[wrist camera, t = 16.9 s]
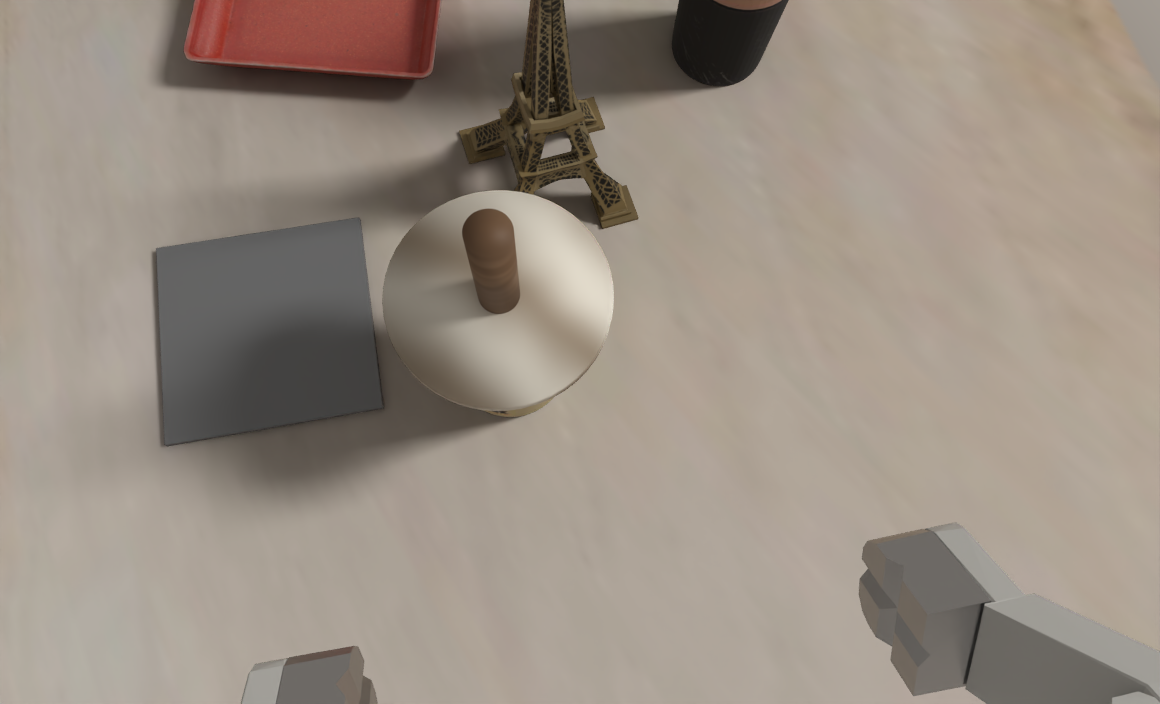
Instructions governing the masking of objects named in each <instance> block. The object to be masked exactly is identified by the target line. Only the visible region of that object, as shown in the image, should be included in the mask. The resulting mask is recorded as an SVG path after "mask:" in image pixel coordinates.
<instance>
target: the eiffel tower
mask: <svg viewBox="0 0 1160 704" xmlns="http://www.w3.org/2000/svg"><path fill="white" fill-rule="evenodd" d="M511 81H512V85H513V88H514V92H515V97H514V100H513V102H512V105H511V106H510V107H509V108H505V109H499V112H500V116H501V118H500V119H498V120H495V121H492V122H489V123H487V124H484V125H481V126H477V127H473V128H469V129H465V130H461V131H459V132H460V136H461V139H462V142H463V145H464V149H465V152H466V155H467V158H468V161H469V164H471V163H475V162H479V161H483V160H487V159H491V158H495V157H498V156H502V155H505V150H504V147H503V146H504V145H507V148H508V150H509V153H510V156H511V159H512V162H513V166H514V170H515V173H516V177H517V181H518V185H517V187H516V188H515V190H514V191H517V192H523V193H527V194H532V195H534V191H536V190H538V189H540V188H542V187H544V186H546V185H548V184H550V183H552V182H555V181H558V180H562V179H572V178H584V179H585V181H586V183H587V184H588V186H589V188H590V190H591V192H592V193H591V198H592V201H593V204H594V206H595V209H596V212H597V215H598V218H599V220H600V223H601V226H602V229H604V228H608V227H612V226H615V225H619V224H623V223H626V222H630V221H633V220H637V219H638V215H637V212H636V210H635V207H634V204H633V201H632V199H631V196H630V193H629V191H628V188H627V185H625V186H622V185H620V184H619V183H618V182H616V181H615V180H613V179H612V178H611V177H609V176H608V175H606V174H605V173H603V172H602V171H601V169H600V167H599V166H598V164H597V163H596V161H595V160H594V159H595V158H597V154H596V152H595V149H594V147H593V144H592V142H591V139H590V136H589V133H591V132H595V131H599V130H603V129H605V126H604V123H603V121H602V118H601V115H600V113H599V110H598V107H597V105H596V102H595V99H594V97H591V98H587V99H583V100H577V97H576V94H575V92H574V89H573V86H572V79H571V69H570V59H569V48H568V39H567V29H566V19H565V10H564V0H531V1H530V9H529V18H528V27H527V35H526V44H525V52H524V60H523V69H522V72H520V73H514V74H513V76H512V79H511ZM551 97H553V98H551ZM563 131H566V132H567V135H568V137H569V140H570V143H571V145H572V149H571V152H567V153H563V154H559V155H556V156H552V157H548V158H544V159H540V158H541V154H542V150H543V146H544V142H545V138H546V136H547V135H551V134H555V133H559V132H563ZM527 132H528V134H527V138H526V140H525V137H524V134H526V133H527Z"/></svg>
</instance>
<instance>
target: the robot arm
mask: <svg viewBox="0 0 1160 704" xmlns="http://www.w3.org/2000/svg"><path fill="white" fill-rule="evenodd" d="M862 560H863V561H864V563H865V564H866V566H867V567H868V569H867V571H866V572H865V573H864V574H863V575H862V577H861V578H860V581H859V598H860V602H861V607H862V611H863V614H864V616H865V618H866V621H867V623H868V625H869V626H870V628H871V630H872V631H873V633H874V635H875V636H876V637H877V638H878V639H880V640H882V641H884V642H885V643H887V644H889V645H891V646H892V652H891V662H892V664H893V665H894V667H895V668H896V670H897V671H898V673H899V675H900V676H901V678H902V679H903V681H904V682H905V684H906V686H907V687H908V689H909V690H910V692H911V693H912V695H913V696H916V695H922V694H927V693H932V692H937V691H942V690H947V689H953V688H958V687H963V686H966V690H968V691H969V692H971V693H972V694H974V695H975V696H976V697H978V698H979V699H981V700H982V701H984V702H985V703H986V704H1160V651H1158V650H1156V649H1153V648H1151V647H1149V646H1147V645H1145V644H1143V643H1141V642H1138V641H1136V640H1134V639H1132V638H1130V637H1128V636H1125V635H1123V634H1121V633H1119V632H1117V631H1115V630H1112V629H1110V628H1108V627H1106V626H1104V625H1102V624H1100V623H1097V622H1095V621H1093V620H1091V619H1089V618H1087V617H1084V616H1082V615H1080V614H1078V613H1076V612H1074V611H1072V610H1069V609H1067V608H1065V607H1063V606H1061V605H1059V604H1056V603H1054V602H1052V601H1050V600H1048V599H1046V598H1043V597H1041V596H1039V595H1037V594H1035V593H1034V594H1029V595H1025V594H1024V592H1023V591H1022V590H1021V589H1020V588H1019V587H1018V586H1017V585H1016V584H1015V583H1014V581H1013V580H1012V579H1011V578H1010V577H1009V576H1008V575H1007V574H1006V573H1005V572H1004V570H1003V569H1002V568H1001V567H1000V566H999V565H998V564H997V563H996V562H995V561H994V559H993V558H992V557H991V556H990V555H989V554H988V553H987V552H986V551H985V550H984V548H983V547H982V546H981V545H980V544H979V543H978V542H977V541H976V540H975V539H974V537H973V536H972V535H971V534H970V533H969V532H968V531H967V530H966V529H965V528H964V527H963V526H962V525H960V524H958V523H956V522H955V523H950V524H945V525H940V526H936V527H931V528H926V529H920V530H915V531H910V532H906V533H901V534H897V535H892V536H887V537H883V538H878V539H873V540H869V541H867V542H866V544H865V545H864V547H863V553H862ZM363 669H364V659H363V657H362V654H361V652H360V649H359V647H358V646H351V647H345V648H340V649H334V650H328V651H323V652H317V653H311V654H306V655H300V656H294V657H289V658H286V659H280V660H275V661H269V662H264V663H258V664H255V665H254V667H253V668H252V670H251V671H250V673H249V674H248V678H247V682H246V685H245V689H244V693H243V697H242V701H241V704H378V702H377V697H376V692H375V689H374V686H373V683H372V680H370V679H368V678H367V677H365V676H363Z"/></svg>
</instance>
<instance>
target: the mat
mask: <svg viewBox="0 0 1160 704" xmlns="http://www.w3.org/2000/svg"><path fill="white" fill-rule="evenodd" d="M156 254H157V277H158V301H159V324H160V348H161V372H162V395H163V419H164V443H165V445H166V446H171V445H177V444H183V443H188V442H194V441H200V440H205V439H211V438H217V437H222V436H228V435H234V434H240V433H245V432H251V431H257V430H262V429H268V428H274V427H279V426H285V425H291V424H297V423H302V422H308V421H314V420H319V419H325V418H331V417H336V416H342V415H348V414H354V413H359V412H365V411H371V410H376V409H382V408H384V407H383V399H382V391H381V383H380V375H379V367H378V358H377V350H376V342H375V334H374V326H373V318H372V310H371V302H370V293H369V285H368V277H367V269H366V261H365V253H364V245H363V236H362V228H361V220H360V218H352V219H346V220H339V221H332V222H326V223H319V224H313V225H306V226H299V227H293V228H286V229H280V230H273V231H267V232H260V233H253V234H247V235H240V236H234V237H227V238H221V239H214V240H207V241H201V242H194V243H188V244H181V245H175V246H168V247H161V248H156Z"/></svg>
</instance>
